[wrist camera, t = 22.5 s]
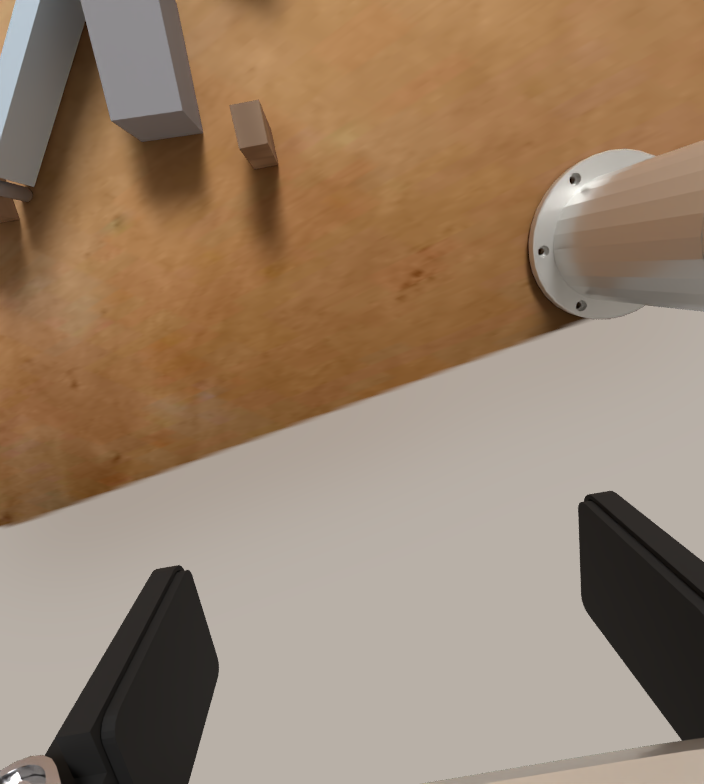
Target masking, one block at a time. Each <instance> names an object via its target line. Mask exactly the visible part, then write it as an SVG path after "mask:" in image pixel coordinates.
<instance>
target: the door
mask: <svg viewBox="0 0 704 784" xmlns="http://www.w3.org/2000/svg"><path fill="white" fill-rule="evenodd" d="M84 23H85V16H84V12H83V8H82V4H81V1H80V0H16V2H15V6H14V9H13V13H12V17H11V20H10V24H9V28H8V31H7V35H6V38H5V42H4V46H3V49H2V53H1V57H0V178H3V179H7V180H10V181H14V182H18V183H21V184H25V185H28V186H32V187H34V186H35V183H36V179H37V176H38V173H39V170H40V166H41V163H42V160H43V157H44V153H45V150H46V147H47V144H48V140H49V137H50V134H51V131H52V127H53V124H54V121H55V118H56V114H57V111H58V108H59V105H60V101H61V98H62V95H63V92H64V88H65V85H66V82H67V79H68V75H69V72H70V69H71V66H72V62H73V59H74V56H75V53H76V49H77V46H78V43H79V40H80V36H81V33H82V30H83V27H84ZM0 196H3V197H7V198H12V199H16V200H21V201H25V202H28V201H30V200H31V199H32V192H31V190H30V189H28V188H27V187H23V186H19V185H16V184H12V183H8V182H5V181H1V180H0Z"/></svg>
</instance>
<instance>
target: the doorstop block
mask: <svg viewBox="0 0 704 784" xmlns="http://www.w3.org/2000/svg"><path fill="white" fill-rule="evenodd" d="M80 1H81V4H82V8H83V12H84V16H85V20H86V24H87V28H88V32H89V36H90V40H91V44H92V48H93V52H94V56H95V60H96V64H97V68H98V71H99V75H100V79H101V83H102V87H103V91H104V95H105V99H106V103H107V107H108V111H109V115H110V119H111V121H112V122H114V123H115V124H117V125H118V126H119V127H121V128H122V129H124V130H125V131H127V132H128V133H130V134H131V135H133V136H134V137H136V138H137V139H139V140H140V141H142V142H145V141H152V140H158V139H165V138H172V137H179V136H186V135H193V134H200V133H203V129H202V124H201V119H200V115H199V110H198V105H197V100H196V95H195V90H194V86H193V81H192V76H191V71H190V66H189V61H188V56H187V52H186V47H185V42H184V37H183V32H182V27H181V22H180V18H179V13H178V8H177V3H176V2H175V0H80Z"/></svg>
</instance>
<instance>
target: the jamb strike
mask: <svg viewBox="0 0 704 784" xmlns="http://www.w3.org/2000/svg"><path fill="white" fill-rule="evenodd" d="M229 106H230V110H231V115H232V119H233V123H234V128H235V132H236V137H237V141H238V145H239V149H240V150H241V152H242V153H243V154H244V156H245V157H246V158H247V160H248V161H249V162H250V164H251V165H252V166H253V168H254V169H259V168H265V167H270V166H275V165H278V161H277V156H276V151H275V146H274V142H273V137H272V132H271V128H270V126H269V124H268V121H267V119H266V116H265V114H264V111H263V109H262V107H261V104H260V102H259V100H255V101H249V102H244V103H239V104H234V105H229Z"/></svg>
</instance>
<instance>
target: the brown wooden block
mask: <svg viewBox="0 0 704 784" xmlns="http://www.w3.org/2000/svg"><path fill="white" fill-rule="evenodd" d="M0 180H1V181H5V182H6V180H5V179H3V178H0ZM13 220H19V216H18V213H17V211H16V208H15V205H14V202H13V200H12V198H7V197H3V196H0V223H3V222H8V221H13Z"/></svg>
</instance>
